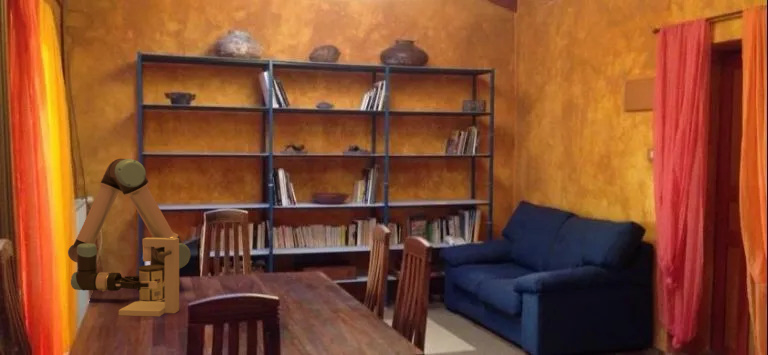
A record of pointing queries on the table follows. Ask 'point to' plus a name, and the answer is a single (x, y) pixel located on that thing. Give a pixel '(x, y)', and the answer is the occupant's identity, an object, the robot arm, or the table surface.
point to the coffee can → (155, 275)
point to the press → (170, 280)
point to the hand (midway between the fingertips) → (161, 282)
